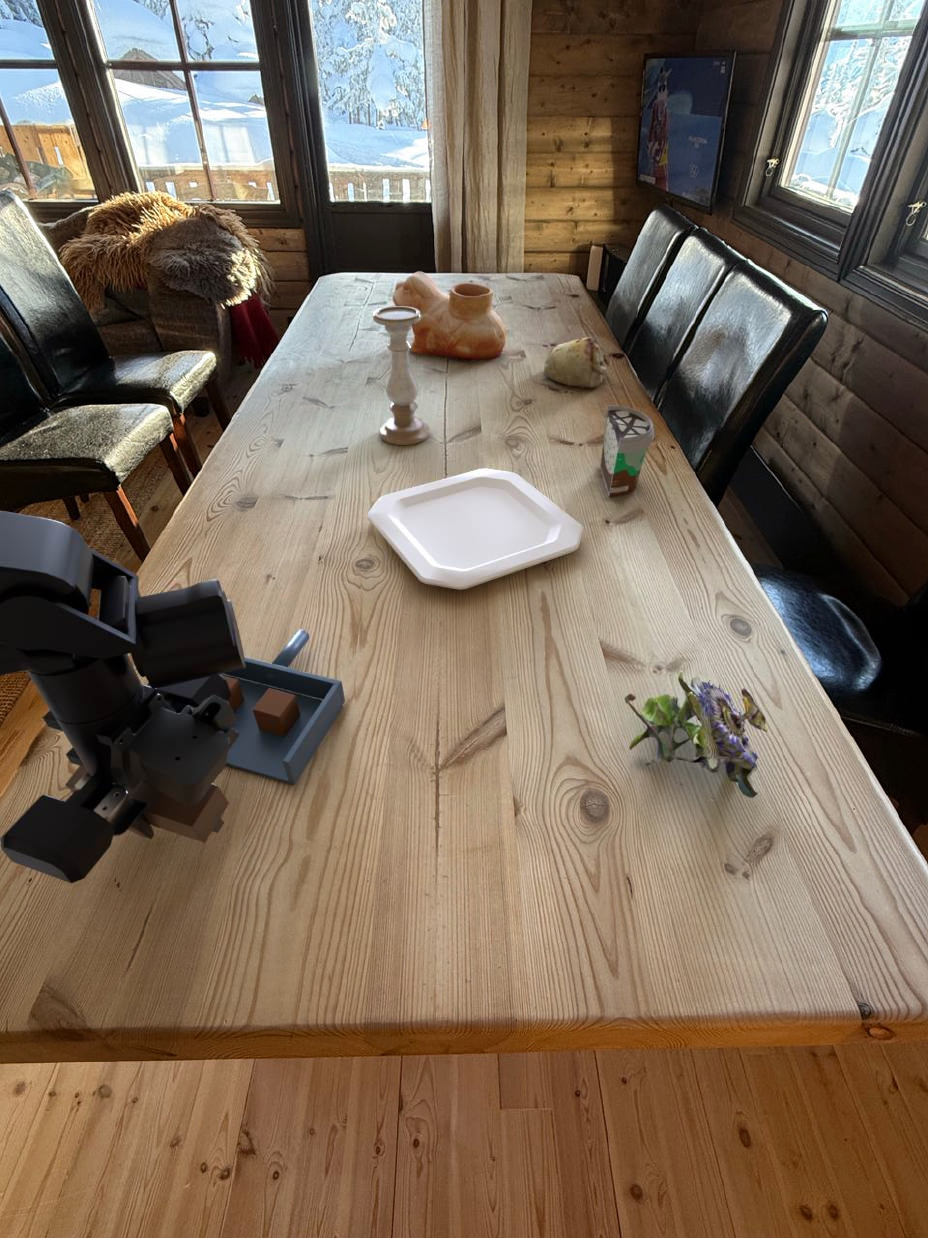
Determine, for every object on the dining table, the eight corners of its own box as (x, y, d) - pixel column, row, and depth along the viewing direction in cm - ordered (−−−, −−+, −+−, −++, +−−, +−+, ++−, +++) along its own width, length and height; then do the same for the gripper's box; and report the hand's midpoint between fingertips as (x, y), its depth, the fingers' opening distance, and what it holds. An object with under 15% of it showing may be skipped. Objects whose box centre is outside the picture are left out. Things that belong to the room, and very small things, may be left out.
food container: (651, 502, 98) (664, 439, 92) (610, 502, 98) (620, 439, 92) (636, 463, 108) (647, 403, 101) (598, 463, 108) (607, 403, 101)
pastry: (615, 386, 132) (621, 345, 127) (556, 392, 130) (560, 350, 125) (589, 362, 142) (594, 323, 137) (534, 367, 140) (537, 328, 135)
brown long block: (87, 807, 56) (64, 784, 53) (114, 771, 58) (94, 747, 55) (209, 848, 53) (192, 827, 50) (233, 808, 55) (218, 785, 52)
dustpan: (294, 785, 61) (288, 763, 58) (148, 741, 64) (137, 719, 62) (372, 659, 73) (370, 637, 71) (246, 629, 77) (240, 607, 75)
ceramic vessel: (412, 332, 158) (408, 263, 148) (514, 346, 150) (518, 274, 140) (384, 350, 148) (378, 278, 138) (492, 367, 140) (494, 291, 131)
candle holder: (389, 449, 111) (379, 324, 98) (373, 429, 118) (361, 308, 104) (437, 440, 114) (433, 316, 101) (419, 420, 120) (413, 301, 107)
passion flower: (713, 797, 66) (798, 797, 54) (612, 800, 63) (680, 800, 52) (700, 685, 69) (778, 663, 57) (604, 683, 66) (666, 659, 55)
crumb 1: (194, 693, 65) (212, 672, 67) (202, 713, 67) (220, 693, 69) (220, 700, 64) (238, 679, 66) (228, 720, 66) (244, 699, 68)
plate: (599, 552, 88) (601, 538, 87) (435, 610, 79) (434, 595, 78) (502, 474, 105) (502, 461, 103) (357, 514, 96) (355, 501, 94)
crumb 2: (252, 709, 63) (269, 687, 65) (258, 729, 65) (274, 707, 67) (279, 717, 62) (295, 695, 65) (285, 737, 64) (300, 715, 67)
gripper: (94, 840, 37) (172, 957, 48) (267, 632, 51) (299, 757, 61) (-56, 788, 40) (49, 909, 50) (146, 603, 53) (197, 728, 64)
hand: (161, 818), depth 56 cm, fingers closed on brown long block, 3 cm apart
